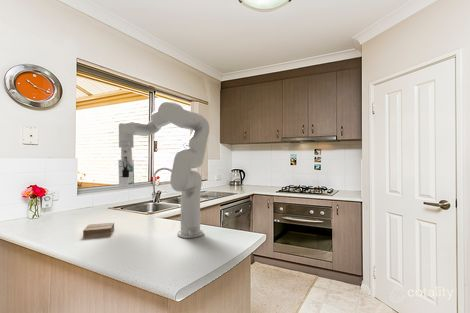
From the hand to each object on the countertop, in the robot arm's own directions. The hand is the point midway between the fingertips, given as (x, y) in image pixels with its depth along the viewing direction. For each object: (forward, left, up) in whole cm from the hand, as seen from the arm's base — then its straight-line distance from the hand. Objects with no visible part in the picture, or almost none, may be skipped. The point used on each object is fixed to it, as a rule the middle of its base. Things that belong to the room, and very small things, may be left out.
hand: (126, 176), depth 143 cm
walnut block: (-10, +12, -28) cm, 32 cm away
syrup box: (0, 0, -5) cm, 5 cm away
